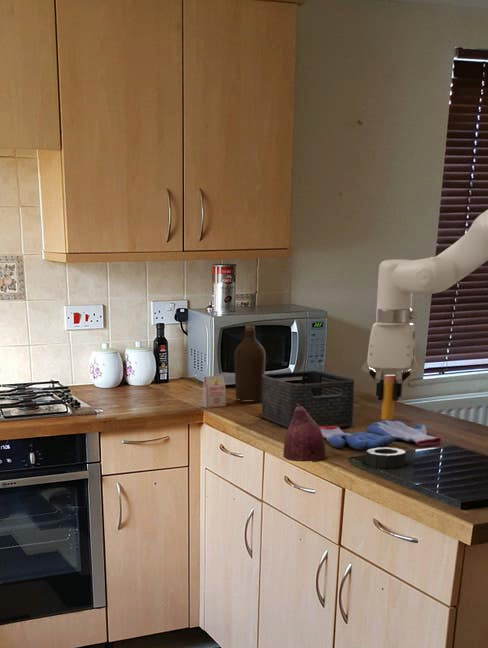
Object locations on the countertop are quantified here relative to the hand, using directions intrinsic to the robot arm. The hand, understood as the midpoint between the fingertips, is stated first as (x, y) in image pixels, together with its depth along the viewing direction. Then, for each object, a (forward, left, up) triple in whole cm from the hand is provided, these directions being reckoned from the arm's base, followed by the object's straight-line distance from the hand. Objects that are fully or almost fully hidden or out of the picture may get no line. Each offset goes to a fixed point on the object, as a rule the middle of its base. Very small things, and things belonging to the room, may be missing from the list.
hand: (388, 399), depth 202 cm
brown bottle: (+62, -79, -15) cm, 102 cm away
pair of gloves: (+7, -26, -15) cm, 31 cm away
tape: (0, 0, -15) cm, 15 cm away
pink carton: (+70, -66, -15) cm, 97 cm away
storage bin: (+33, -47, -15) cm, 59 cm away
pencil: (0, 0, -5) cm, 5 cm away
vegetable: (+20, -1, -15) cm, 25 cm away
